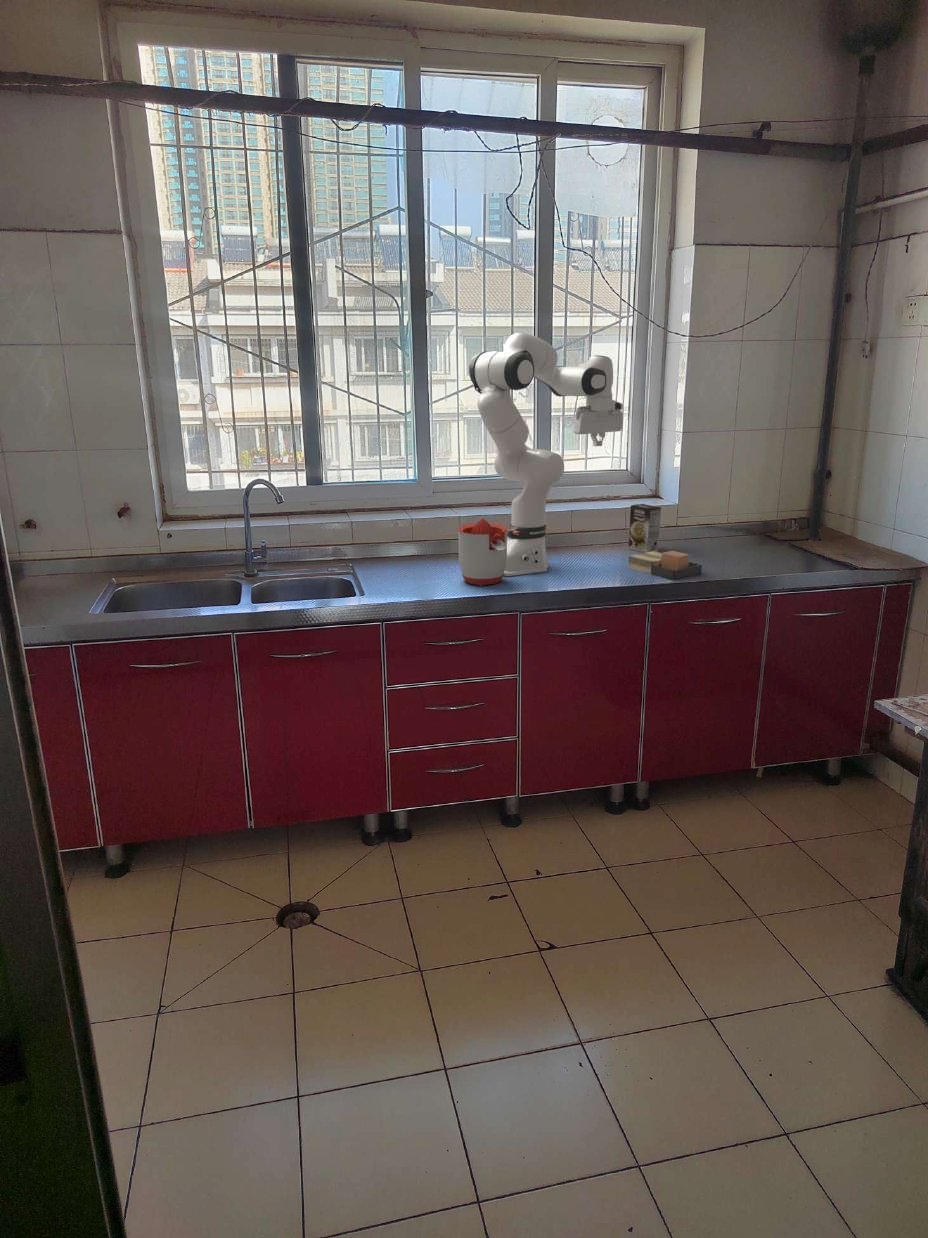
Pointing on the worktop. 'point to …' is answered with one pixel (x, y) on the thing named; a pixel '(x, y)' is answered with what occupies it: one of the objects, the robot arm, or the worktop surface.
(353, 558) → the worktop surface
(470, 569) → the citrus juicer
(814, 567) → the worktop surface
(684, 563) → the tile block
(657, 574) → the tray
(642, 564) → the tan flat box
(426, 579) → the worktop surface
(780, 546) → the worktop surface
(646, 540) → the coffee box
